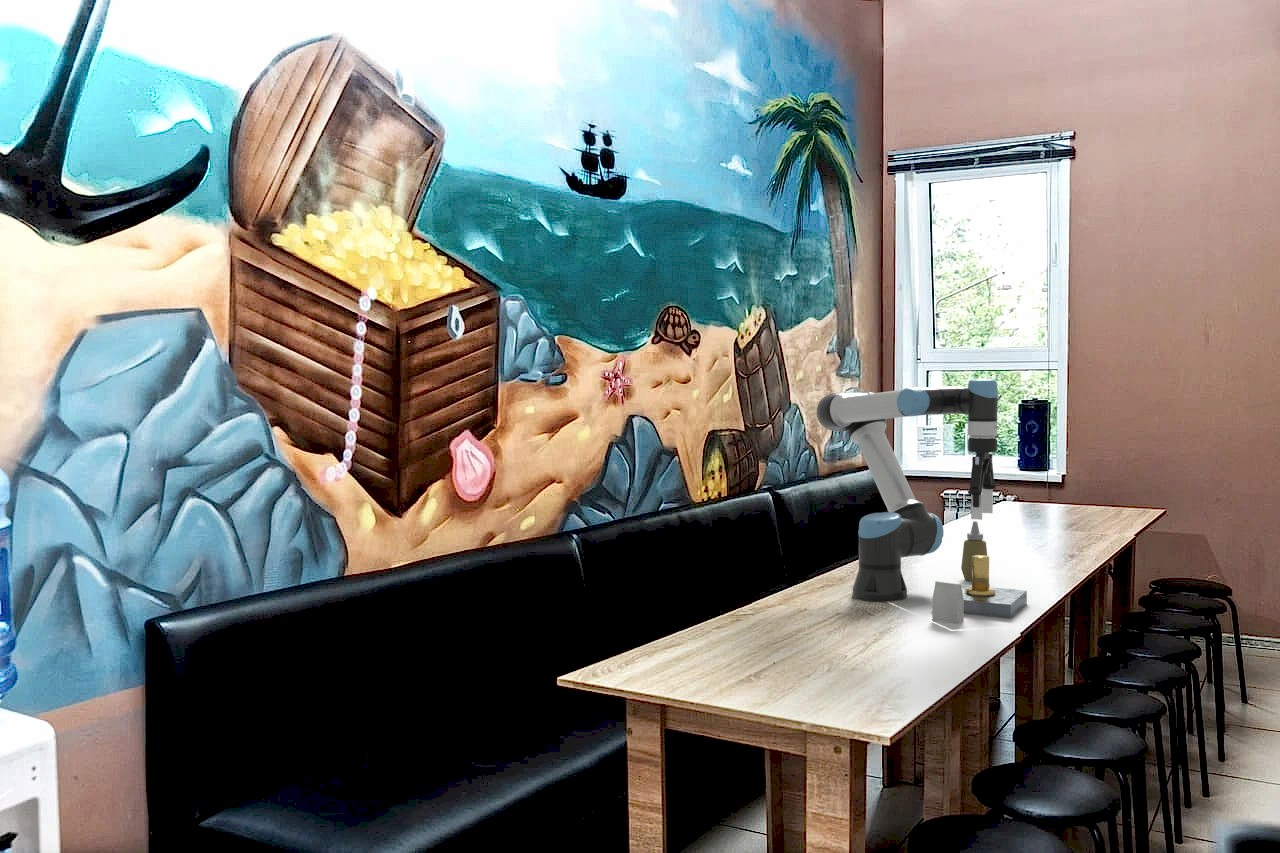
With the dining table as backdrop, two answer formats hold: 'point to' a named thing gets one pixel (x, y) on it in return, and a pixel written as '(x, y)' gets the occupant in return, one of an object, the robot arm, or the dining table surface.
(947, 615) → the tea bag
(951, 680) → the dining table surface
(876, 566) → the robot arm
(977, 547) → the squeeze bottle
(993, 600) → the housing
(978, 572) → the brass door knob
